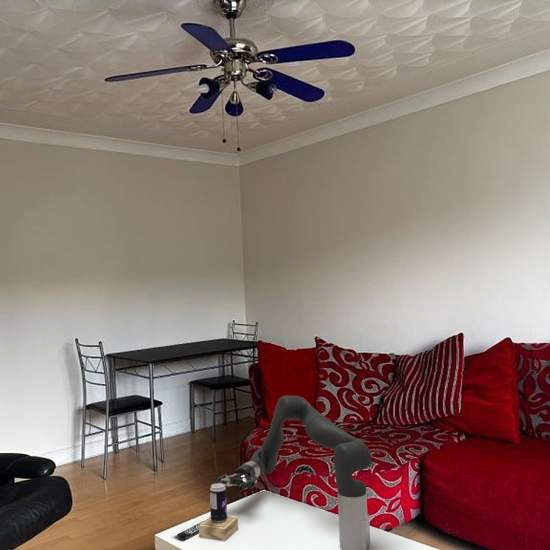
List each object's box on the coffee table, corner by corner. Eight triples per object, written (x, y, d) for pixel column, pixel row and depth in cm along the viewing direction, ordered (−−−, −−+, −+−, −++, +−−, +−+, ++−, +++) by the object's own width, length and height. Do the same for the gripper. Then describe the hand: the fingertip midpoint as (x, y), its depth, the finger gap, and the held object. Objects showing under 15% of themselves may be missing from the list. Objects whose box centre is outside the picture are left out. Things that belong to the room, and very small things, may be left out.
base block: (238, 529, 200) (237, 516, 201) (225, 540, 191) (224, 527, 191) (213, 525, 204) (212, 513, 204) (199, 537, 195) (198, 524, 195)
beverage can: (224, 524, 195) (223, 488, 195) (208, 523, 196) (207, 488, 196) (229, 517, 200) (228, 483, 200) (213, 516, 201) (212, 482, 202)
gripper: (230, 462, 224) (210, 475, 209) (263, 465, 219) (246, 479, 204) (231, 481, 224) (211, 496, 209) (264, 485, 218) (246, 500, 203)
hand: (228, 487), depth 206 cm, fingers open, 8 cm apart
